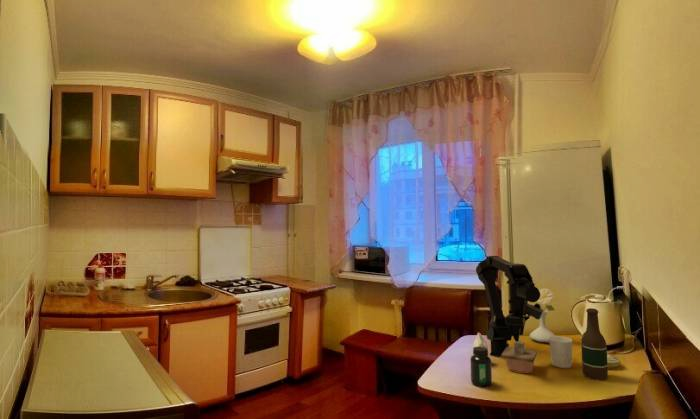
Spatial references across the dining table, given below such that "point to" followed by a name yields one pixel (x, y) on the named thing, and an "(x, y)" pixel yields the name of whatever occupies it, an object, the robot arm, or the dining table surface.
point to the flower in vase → (543, 317)
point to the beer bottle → (594, 349)
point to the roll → (480, 342)
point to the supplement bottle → (481, 368)
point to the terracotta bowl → (519, 366)
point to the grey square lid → (519, 352)
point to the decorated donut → (612, 362)
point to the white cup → (561, 351)
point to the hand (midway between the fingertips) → (519, 338)
